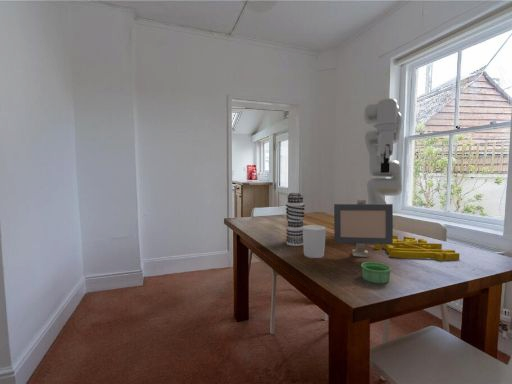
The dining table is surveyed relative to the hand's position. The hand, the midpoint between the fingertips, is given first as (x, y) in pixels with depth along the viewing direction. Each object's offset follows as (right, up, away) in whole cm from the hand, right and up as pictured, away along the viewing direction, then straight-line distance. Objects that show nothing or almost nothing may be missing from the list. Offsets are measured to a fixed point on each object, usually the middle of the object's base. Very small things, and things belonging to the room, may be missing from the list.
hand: (384, 172), depth 115 cm
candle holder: (-31, -35, -2) cm, 47 cm away
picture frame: (-12, -29, -6) cm, 32 cm away
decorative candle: (-36, -34, +17) cm, 53 cm away
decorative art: (+14, -35, +7) cm, 38 cm away
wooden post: (-12, -35, -2) cm, 37 cm away
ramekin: (-17, -37, -28) cm, 49 cm away
